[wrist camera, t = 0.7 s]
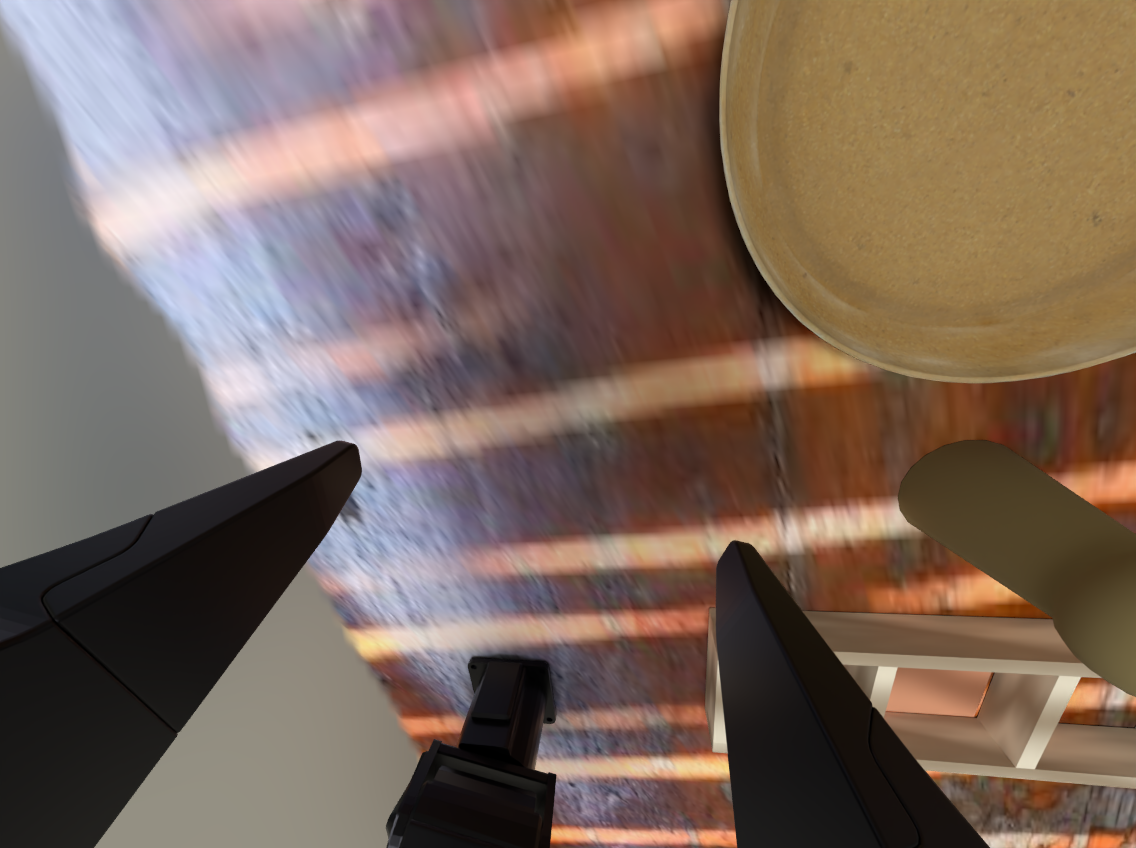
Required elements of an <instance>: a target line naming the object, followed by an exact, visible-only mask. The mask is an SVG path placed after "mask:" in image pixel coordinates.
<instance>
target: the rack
mask: <svg viewBox="0 0 1136 848" xmlns="http://www.w3.org/2000/svg"><path fill="white" fill-rule="evenodd" d="M803 612H804V614H805V615H806V616H807V618H808V619H809V620H810V622H811V623H812V624H813V626H814V627H815V628H816V630H817V631H818V632H819V634H820V635H821V636H822V638H823V639H824V640H825V641H826V643H827V644H828V645H829V647H830V648H831V649H832V651H833V652H834V653H835V655H836V656H837V657H838V659H839V660H840V661H841V663H842V664H843V665H844V667H845V668H846V669H847V670H848V672H849V673H850V674H851V676H852V677H853V678H854V680H855V681H856V682H857V684H858V685H859V686H860V688H861V689H862V690H863V692H864V693H865V694H866V695H867V697H868V698H869V699H870V701H871V702H872V707H875V708H876V709H877V710H878V711H879V712H880V714H881V715H882V716H883V718H884V719H885V720H886V722H887V723H888V724H889V726H890V727H891V728H892V730H893V731H894V732H895V733H896V735H897V736H898V737H899V738H900V740H901V741H902V742H903V744H904V745H905V746H906V747H907V749H908V750H909V751H910V752H911V754H912V755H913V756H914V758H915V759H916V760H917V761H918V763H919V764H920V765H921V766H922V768H923V769H924V770H926V771H938V772H950V773H961V774H973V775H984V776H996V777H1007V778H1019V779H1030V780H1042V781H1053V782H1065V783H1076V784H1088V785H1099V786H1111V787H1123V788H1134V789H1136V727H1135V728H1120V727H1105V726H1090V725H1076V724H1061V723H1058V722H1059V720H1060V718H1061V716H1062V714H1063V712H1064V710H1065V708H1066V706H1067V704H1068V702H1069V700H1070V698H1071V696H1072V694H1073V692H1074V690H1075V688H1076V686H1077V684H1078V682H1079V680H1080V678H1081V677H1093V678H1102V677H1100V676H1099V675H1097V674H1096V673H1094V672H1093V671H1091V670H1090V669H1089V668H1088V667H1086V666H1085V665H1084V664H1083V663H1082V662H1081V661H1080V660H1079V659H1077V658H1076V657H1075V656H1074V655H1073V653H1072V652H1071V651H1070V649H1069V648H1068V647H1067V645H1066V644H1065V643H1064V641H1063V640H1062V639H1061V637H1060V635H1059V634H1058V632H1057V630H1056V629H1055V627H1054V623H1053V619H1028V618H998V617H968V616H938V615H909V614H879V613H849V612H819V611H803ZM991 672H995V673H994V676H993V678H992V681H991V683H990V686H989V689H988V691H987V694H986V696H985V699H984V701H983V704H982V706H981V709H980V711H979V714H978V717H977V718H972V717H974V716H975V713H976V711H977V708H978V705H979V703H980V700H981V698H982V695H983V693H984V690H985V687H986V685H987V682H988V680H989V677H990V675H991ZM886 711H894V712H886ZM705 712H706V717H707V723H708V728H709V734H710V740H711V745H712V751H713V752H719V753H728V752H727V742H726V732H725V722H724V713H723V703H722V693H721V684H720V674H719V664H718V654H717V644H716V608H709V626H708V649H707V672H706V695H705ZM898 712H909V713H898ZM913 713H924V714H913ZM927 714H939V715H927ZM942 715H954V716H942ZM957 716H969V717H957Z"/></svg>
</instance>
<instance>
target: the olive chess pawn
mask: <svg viewBox="0 0 1136 848" xmlns="http://www.w3.org/2000/svg"><path fill="white" fill-rule="evenodd" d="M898 501H899V507H900V511H901V513H902V514H903V515H904V517H905V518H906V520H907V521H908V522H909V523H910V524H912V525H913V526H915V527H916V528H918V529H919V530H921V531H922V532H924V533H925V534H927V535H928V536H930V537H931V538H933V539H934V540H936V541H937V542H939V543H940V544H942V545H943V546H945V547H946V548H948V549H949V550H951V551H952V552H954V553H955V554H957V555H959V556H960V557H962V558H963V559H965V560H966V561H968V562H969V563H971V564H972V565H974V566H975V567H977V568H978V569H980V570H981V571H983V572H984V573H986V574H987V575H989V576H990V577H992V578H993V579H995V580H996V581H998V582H999V583H1001V584H1002V585H1004V586H1005V587H1007V588H1008V589H1010V590H1011V591H1013V592H1014V593H1016V594H1017V595H1019V596H1020V597H1022V598H1024V599H1025V600H1027V601H1028V602H1030V603H1031V604H1033V605H1034V606H1036V607H1037V608H1039V609H1040V610H1042V611H1043V612H1045V613H1046V614H1048V615H1049V616H1051V617H1052V618H1053V623H1054V627H1055V629H1056V630H1057V632H1058V634H1059V635H1060V637H1061V639H1062V640H1063V641H1064V643H1065V644H1066V645H1067V647H1068V648H1069V649H1070V651H1071V652H1072V653H1073V655H1074V656H1075V657H1076V658H1077V659H1079V660H1080V661H1081V662H1082V663H1083V664H1084V665H1085V666H1086V667H1088V668H1089V669H1090V670H1091V671H1093V672H1094V673H1096V674H1097V675H1099V676H1100V677H1102V678H1103V679H1105V680H1106V681H1108V682H1109V683H1111V684H1113V685H1114V686H1116V687H1118V688H1119V689H1121V690H1123V691H1124V692H1126V693H1127V694H1130V695H1132V696H1135V697H1136V534H1135V533H1133V532H1132V531H1130V530H1129V529H1127V528H1126V527H1124V526H1123V525H1121V524H1120V523H1118V522H1117V521H1115V520H1114V519H1112V518H1111V517H1109V516H1108V515H1106V514H1105V513H1103V512H1102V511H1101V510H1099V509H1098V508H1096V507H1095V506H1093V505H1092V504H1090V503H1089V502H1087V501H1086V500H1084V499H1083V498H1081V497H1080V496H1078V495H1077V494H1075V493H1074V492H1072V491H1071V490H1069V489H1068V488H1066V487H1065V486H1063V485H1062V484H1060V483H1059V482H1057V481H1056V480H1055V479H1053V478H1052V477H1050V476H1049V475H1047V474H1046V473H1044V472H1043V471H1041V470H1040V469H1038V468H1037V467H1035V466H1034V465H1032V464H1031V463H1029V462H1028V461H1026V460H1025V459H1023V458H1022V457H1020V456H1019V455H1017V454H1016V453H1014V452H1013V451H1012V450H1010V449H1009V448H1007V447H1006V446H1004V445H1002V444H998V443H994V442H990V441H987V440H964V441H960V442H956V443H952V444H949V445H945V446H943V447H941V448H939V449H937V450H935V451H933V452H931V453H929V454H927V455H925V456H924V457H923V458H922V459H921V460H919V461H918V462H917V463H916V464H915V465H914V466H913V467H911V469H910V470H909V472H908V473H907V475H906V476H905V478H904V479H903V481H902V482H901V486H900V490H899V494H898Z"/></svg>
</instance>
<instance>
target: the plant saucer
mask: <svg viewBox="0 0 1136 848" xmlns="http://www.w3.org/2000/svg"><path fill="white" fill-rule="evenodd" d="M719 122H720V140H721V152H722V159H723V166H724V173H725V178H726V183H727V188H728V193H729V197H730V202H731V205H732V208H733V211H734V215H735V218H736V221H737V224H738V227H739V229H740V232H741V235H742V237H743V240H744V242H745V244H746V246H747V249H748V251H749V252H750V254H751V256H752V258H753V260H754V262H755V264H756V266H757V268H758V269H759V271H760V273H761V274H762V276H763V278H764V279H765V281H766V282H767V283H768V285H769V286H770V288H771V289H772V291H773V292H774V293H775V295H776V296H777V297H778V298H779V299H780V301H781V302H782V303H783V304H784V305H785V306H786V308H787V309H788V310H789V311H790V312H791V313H792V314H793V315H794V316H795V317H796V318H797V319H798V320H799V321H800V322H801V323H802V324H804V325H805V326H806V327H807V328H808V329H810V330H811V331H812V332H813V333H815V334H816V335H817V336H819V337H820V338H821V339H823V340H824V341H826V342H828V343H829V344H831V345H832V346H834V347H835V348H837V349H839V350H841V351H842V352H844V353H846V354H848V355H850V356H852V357H854V358H856V359H858V360H861V361H863V362H865V363H868V364H871V365H873V366H876V367H879V368H881V369H884V370H888V371H892V372H895V373H899V374H902V375H906V376H910V377H915V378H921V379H927V380H933V381H943V382H956V383H996V382H1009V381H1019V380H1026V379H1034V378H1041V377H1048V376H1053V375H1057V374H1062V373H1067V372H1072V371H1075V370H1079V369H1083V368H1087V367H1091V366H1094V365H1097V364H1101V363H1104V362H1107V361H1110V360H1114V359H1117V358H1120V357H1123V356H1126V355H1130V354H1132V353H1135V352H1136V0H731V4H730V9H729V14H728V20H727V26H726V32H725V39H724V46H723V53H722V64H721V74H720V108H719Z"/></svg>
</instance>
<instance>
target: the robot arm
mask: <svg viewBox="0 0 1136 848" xmlns="http://www.w3.org/2000/svg"><path fill="white" fill-rule="evenodd" d="M361 473H362V467H361V461H360V455H359V449H358V447H357V446H356V445H355V444H353V443H349V442H345V441H335V442H333V443H330V444H328V445H325V446H323V447H320V448H317V449H315V450H312V451H310V452H307V453H305V454H302V455H300V456H297V457H295V458H292V459H289V460H287V461H284V462H282V463H279V464H277V465H274V466H272V467H269V468H267V469H264V470H261V471H259V472H256V473H254V474H251V475H249V476H246V477H244V478H241V479H239V480H236V481H234V482H231V483H229V484H226V485H223V486H221V487H218V488H216V489H213V490H211V491H208V492H205V493H203V494H200V495H198V496H195V497H193V498H190V499H188V500H186V501H183V502H180V503H177V504H175V505H172V506H170V507H167V508H165V509H162V510H160V511H157V512H156V513H155V514H154V515H153V514H149V515H147V516H144V517H142V518H139V519H136V520H134V521H131V522H129V523H126V524H124V525H121V526H119V527H116V528H113V529H110V530H108V531H105V532H103V533H100V534H97V535H94V536H92V537H89V538H87V539H84V540H81V541H78V542H75V543H72V544H69V545H66V546H64V547H61V548H58V549H55V550H52V551H49V552H46V553H44V554H40V555H38V556H34V557H31V558H29V559H26V560H23V561H20V562H17V563H14V564H11V565H8V566H5V567H2V568H0V848H94V847H95V846H96V844H97V843H98V842H99V840H100V839H101V838H102V836H103V835H104V834H105V832H106V831H107V830H108V828H109V827H110V825H111V824H112V823H113V822H114V820H115V819H116V817H117V816H118V815H119V813H120V812H121V811H122V809H123V808H124V807H125V805H126V804H127V803H128V801H129V800H130V799H131V797H132V796H133V795H134V793H135V792H136V791H137V789H138V788H139V786H140V785H141V784H142V783H143V781H144V780H145V778H146V777H147V776H148V774H149V773H150V772H151V770H152V769H153V768H154V766H155V765H156V763H157V762H158V761H159V760H160V758H161V757H162V756H163V754H164V753H165V752H166V750H167V749H168V748H169V746H170V745H171V743H172V742H173V741H174V740H175V738H176V737H177V735H178V734H177V733H178V732H180V731H181V729H182V728H183V727H184V726H185V724H186V723H187V722H188V720H189V719H190V717H191V716H192V715H193V713H194V712H195V711H196V709H197V708H198V707H199V705H200V704H201V703H202V701H203V700H204V699H205V697H206V696H207V695H208V693H209V692H210V691H211V689H212V688H213V687H214V685H215V684H216V683H217V681H218V680H219V679H220V677H221V676H222V674H223V673H224V672H225V670H226V669H227V668H228V666H229V665H230V664H231V662H232V661H233V660H234V658H235V657H236V656H237V654H238V653H239V652H240V650H241V649H242V648H243V646H244V645H245V644H246V642H247V641H248V639H249V638H250V637H251V635H252V634H253V633H254V631H255V630H256V629H257V627H258V626H259V625H260V623H261V622H262V621H263V619H264V618H265V617H266V615H267V614H268V613H269V611H270V610H271V609H272V607H273V606H274V604H275V603H276V602H277V601H278V599H279V598H280V596H281V595H282V594H283V592H284V591H285V590H286V588H287V587H288V586H289V584H290V583H291V582H292V580H293V579H294V578H295V576H296V575H297V574H298V572H299V571H300V570H301V568H302V567H303V566H304V564H305V563H306V562H307V560H308V559H309V558H310V556H311V555H312V553H313V552H314V551H315V549H316V548H317V547H318V545H319V544H320V543H321V541H322V540H323V539H324V537H325V536H326V534H327V533H328V531H329V530H330V528H331V527H332V525H333V523H334V522H335V520H336V518H337V517H338V515H339V513H340V511H341V510H342V508H343V506H344V505H345V503H346V501H347V500H348V498H349V496H350V495H351V493H352V491H353V489H354V488H355V486H356V484H357V483H358V481H359V479H360V477H361ZM716 644H717V654H718V664H719V674H720V684H721V693H722V703H723V713H724V722H725V732H726V742H727V752H728V761H729V771H730V781H731V791H732V800H733V810H734V820H735V829H736V839H737V848H990V847H989V846H988V845H987V844H986V842H985V841H984V840H983V839H982V838H981V837H980V835H979V834H978V833H977V832H976V831H975V830H974V828H973V827H972V826H971V825H970V824H969V823H968V821H967V820H966V819H965V818H964V817H963V815H962V814H961V813H960V812H959V811H958V810H957V808H956V807H955V806H954V805H953V804H952V803H951V801H950V800H949V799H948V798H947V797H946V795H945V794H944V793H943V792H942V790H941V789H940V788H939V787H938V786H937V784H936V783H935V782H934V781H933V780H932V778H931V777H930V776H929V775H928V774H927V772H926V771H925V770H924V769H923V768H922V766H921V765H920V764H919V763H918V761H917V760H916V759H915V758H914V756H913V755H912V754H911V752H910V751H909V750H908V749H907V747H906V746H905V745H904V744H903V742H902V741H901V740H900V738H899V737H898V736H897V735H896V733H895V732H894V731H893V730H892V728H891V727H890V726H889V724H888V723H887V722H886V720H885V719H884V718H883V716H882V715H881V714H880V712H879V711H878V710H877V709H876V708H875V707H872V702H871V701H870V699H869V698H868V697H867V695H866V694H865V693H864V692H863V690H862V689H861V688H860V686H859V685H858V684H857V682H856V681H855V680H854V678H853V677H852V676H851V674H850V673H849V672H848V670H847V669H846V668H845V667H844V665H843V664H842V663H841V661H840V660H839V659H838V657H837V656H836V655H835V653H834V652H833V651H832V649H831V648H830V647H829V645H828V644H827V643H826V641H825V640H824V639H823V638H822V636H821V635H820V634H819V632H818V631H817V630H816V628H815V627H814V626H813V624H812V623H811V622H810V620H809V619H808V618H807V616H806V615H805V614H804V612H803V611H802V610H801V609H800V607H799V606H798V605H797V603H796V602H795V601H794V599H793V598H792V597H791V595H790V594H789V593H788V591H787V590H786V589H785V587H784V586H783V585H782V583H781V582H780V581H779V580H778V578H777V577H776V576H775V574H774V573H773V572H772V570H771V569H770V568H769V566H768V565H767V564H766V562H765V561H764V560H763V558H762V557H761V556H760V555H759V553H758V552H757V551H756V549H755V548H754V547H753V546H752V545H751V544H748V543H744V542H741V541H737V540H734V541H732V542H731V543H730V544H729V545H728V547H727V548H726V550H725V552H724V553H723V555H722V556H721V558H720V559H719V561H718V564H717V568H716ZM468 669H469V674H470V678H471V682H472V686H473V690H474V697H473V700H472V703H471V706H470V708H469V711H468V714H467V717H466V720H465V722H464V725H463V728H462V731H461V734H460V737H459V739H458V742H457V745H456V747H454V746H450V745H447V744H443V743H442V741H439V740H435V739H434V741H433V743H432V745H431V747H430V749H429V751H426V752H424V753H422V755H421V758H420V760H419V762H418V765H417V767H416V770H415V772H414V775H413V776H412V779H411V781H410V783H409V784H408V786H407V788H406V790H405V791H404V793H403V795H402V796H401V798H400V800H399V801H398V803H397V805H396V806H395V808H394V810H393V811H392V813H391V815H390V817H389V819H388V822H387V825H386V830H387V835H388V839H389V840H388V844H387V848H550V839H551V829H552V818H553V807H554V796H555V785H556V774H553V773H550V772H549V773H548V774H547V773H543V772H540V771H536V770H535V765H536V760H537V754H538V748H539V743H540V737H541V732H542V726H543V723H547V724H553V723H554V722H555V720H556V710H555V703H554V696H553V689H552V682H551V676H550V669H549V665H548V664H547V663H545V662H537V661H519V660H502V659H484V658H472V659H470V661H469V663H468Z"/></svg>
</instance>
